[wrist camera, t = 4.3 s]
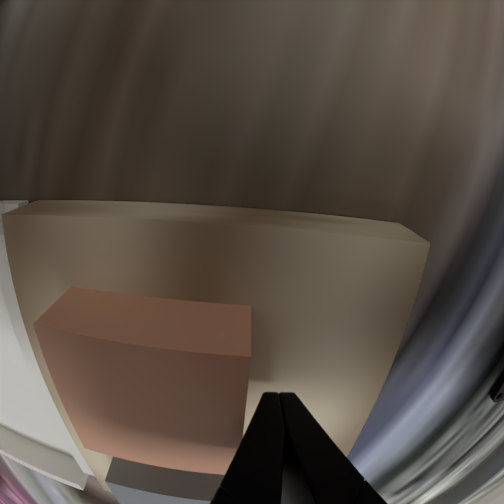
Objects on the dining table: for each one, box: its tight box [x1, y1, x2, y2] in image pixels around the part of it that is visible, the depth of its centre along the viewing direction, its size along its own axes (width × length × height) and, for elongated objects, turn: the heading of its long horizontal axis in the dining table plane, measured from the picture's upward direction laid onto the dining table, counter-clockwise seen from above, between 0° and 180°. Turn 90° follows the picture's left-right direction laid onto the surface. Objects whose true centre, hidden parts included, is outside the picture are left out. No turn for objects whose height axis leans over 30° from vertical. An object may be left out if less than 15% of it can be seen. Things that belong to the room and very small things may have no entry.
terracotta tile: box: [33, 287, 251, 475], centre depth 7 cm, size 5×5×2 cm
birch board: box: [2, 200, 431, 492], centre depth 11 cm, size 12×16×2 cm
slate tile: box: [105, 457, 224, 504], centre depth 10 cm, size 5×5×2 cm
